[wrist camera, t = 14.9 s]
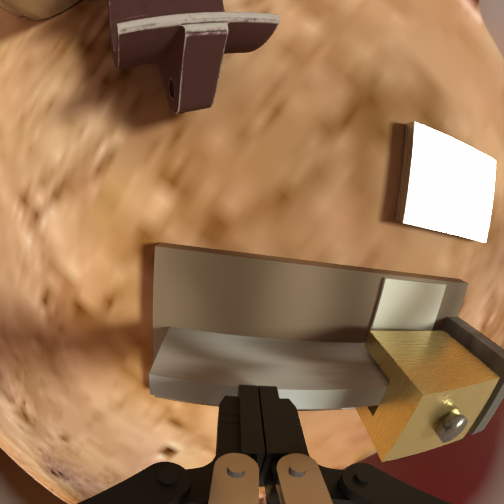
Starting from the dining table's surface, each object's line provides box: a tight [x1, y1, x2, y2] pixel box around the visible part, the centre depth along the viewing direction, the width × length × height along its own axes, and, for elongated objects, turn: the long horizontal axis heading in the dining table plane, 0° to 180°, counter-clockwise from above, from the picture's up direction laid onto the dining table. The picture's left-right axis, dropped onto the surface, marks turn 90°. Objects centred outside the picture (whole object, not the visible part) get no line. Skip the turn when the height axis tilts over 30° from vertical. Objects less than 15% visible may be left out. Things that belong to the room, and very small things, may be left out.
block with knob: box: [355, 330, 500, 462], centre depth 12 cm, size 6×4×7 cm
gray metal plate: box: [395, 121, 496, 243], centre depth 15 cm, size 8×6×1 cm
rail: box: [149, 243, 504, 435], centre depth 13 cm, size 20×10×8 cm, turn 82°
